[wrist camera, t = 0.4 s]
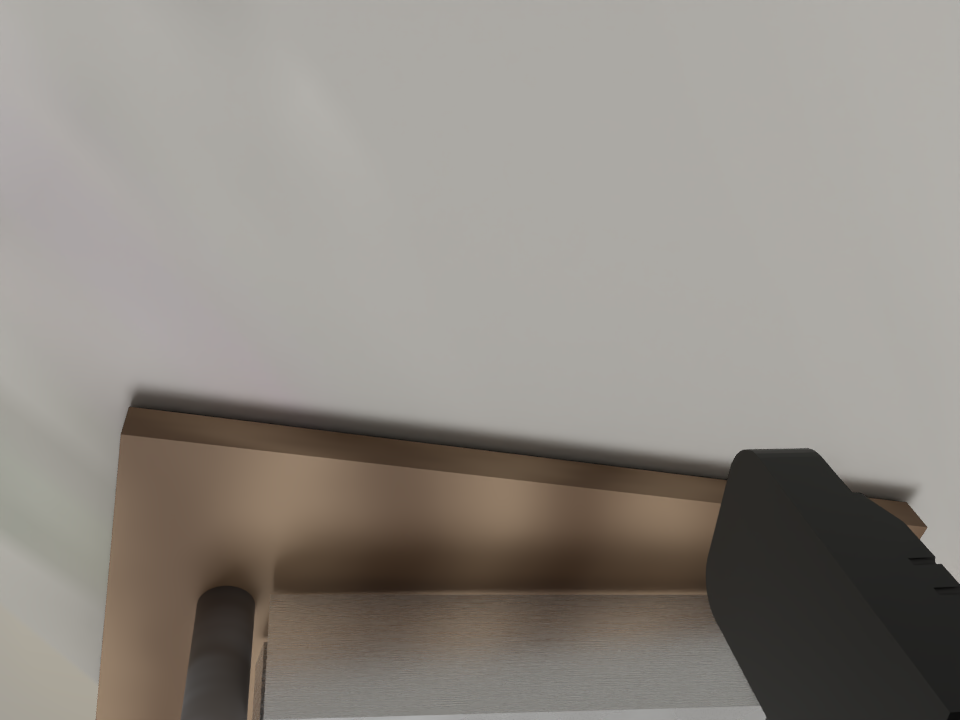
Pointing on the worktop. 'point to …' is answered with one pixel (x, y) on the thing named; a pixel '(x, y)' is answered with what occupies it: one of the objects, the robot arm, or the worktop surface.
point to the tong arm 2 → (501, 659)
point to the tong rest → (357, 541)
